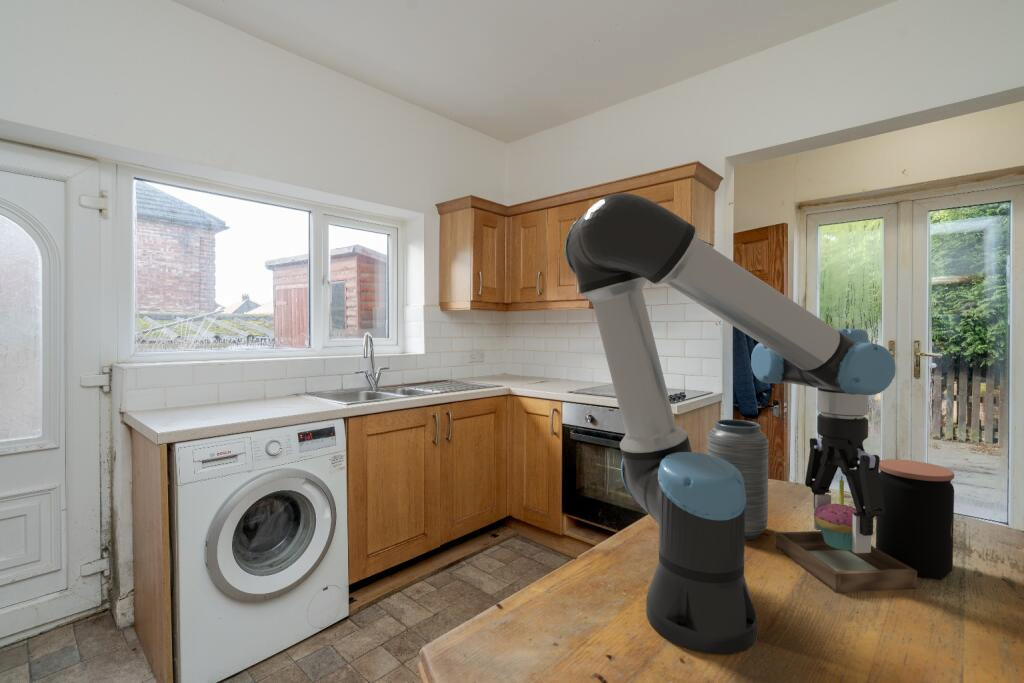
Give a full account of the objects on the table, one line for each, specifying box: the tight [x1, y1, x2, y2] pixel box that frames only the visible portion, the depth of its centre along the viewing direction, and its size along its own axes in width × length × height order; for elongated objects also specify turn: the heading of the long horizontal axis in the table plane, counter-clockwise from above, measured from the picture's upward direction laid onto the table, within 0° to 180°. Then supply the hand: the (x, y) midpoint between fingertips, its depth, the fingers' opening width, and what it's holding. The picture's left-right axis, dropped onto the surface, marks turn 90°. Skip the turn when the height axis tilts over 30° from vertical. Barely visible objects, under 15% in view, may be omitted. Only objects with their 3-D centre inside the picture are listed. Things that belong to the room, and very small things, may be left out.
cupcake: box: [813, 475, 857, 550], centre depth 86 cm, size 9×8×12 cm
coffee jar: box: [875, 458, 955, 580], centre depth 86 cm, size 11×11×18 cm
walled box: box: [775, 530, 918, 593], centre depth 86 cm, size 14×16×3 cm
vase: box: [707, 419, 770, 541], centre depth 101 cm, size 12×12×23 cm
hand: (841, 539), depth 86 cm, fingers closed on cupcake, 9 cm apart
